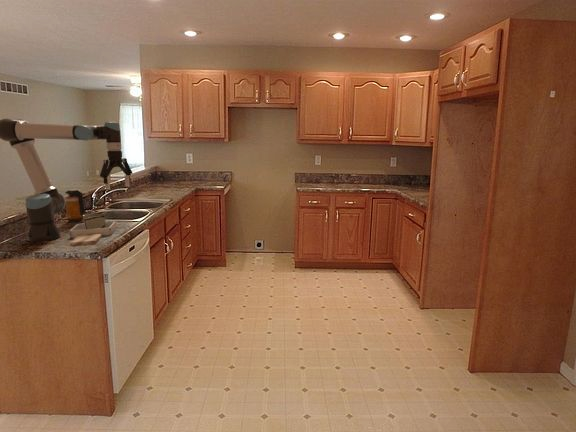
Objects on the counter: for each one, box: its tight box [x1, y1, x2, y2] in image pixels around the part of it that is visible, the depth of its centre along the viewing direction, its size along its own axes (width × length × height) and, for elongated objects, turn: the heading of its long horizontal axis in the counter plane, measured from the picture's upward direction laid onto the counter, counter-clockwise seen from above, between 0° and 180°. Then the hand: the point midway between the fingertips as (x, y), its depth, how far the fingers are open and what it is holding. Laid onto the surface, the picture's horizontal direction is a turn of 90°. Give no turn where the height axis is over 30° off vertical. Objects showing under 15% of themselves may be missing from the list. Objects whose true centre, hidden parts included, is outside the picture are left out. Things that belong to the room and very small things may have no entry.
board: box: [69, 233, 103, 247], centre depth 210 cm, size 12×15×2 cm
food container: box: [82, 213, 107, 229], centre depth 225 cm, size 12×6×10 cm, turn 141°
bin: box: [68, 221, 117, 239], centre depth 226 cm, size 21×17×4 cm
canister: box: [65, 189, 86, 223], centre depth 256 cm, size 9×11×20 cm
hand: (117, 188), depth 229 cm, fingers open, 13 cm apart
